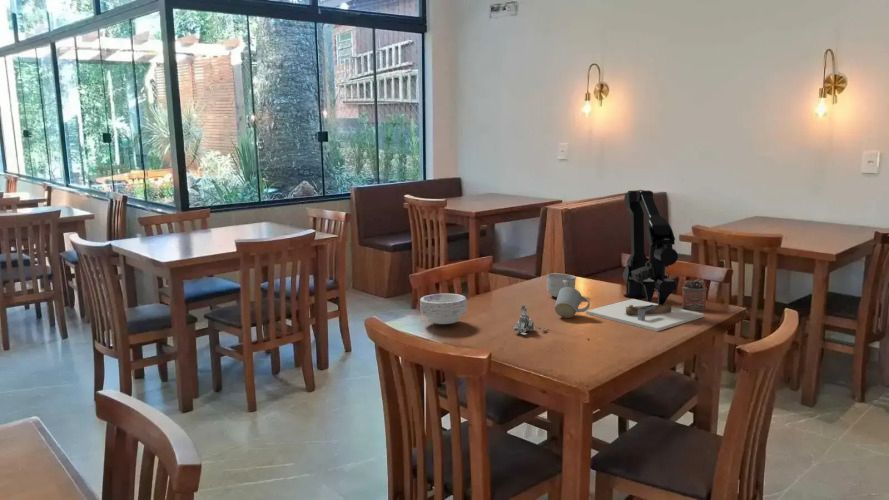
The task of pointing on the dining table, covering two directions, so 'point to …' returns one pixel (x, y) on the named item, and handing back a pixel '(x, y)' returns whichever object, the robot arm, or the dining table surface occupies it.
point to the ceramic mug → (569, 302)
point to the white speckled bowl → (443, 307)
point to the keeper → (642, 311)
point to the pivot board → (651, 319)
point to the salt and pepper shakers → (528, 431)
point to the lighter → (694, 296)
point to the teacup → (559, 283)
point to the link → (658, 309)
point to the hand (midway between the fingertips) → (654, 304)
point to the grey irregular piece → (524, 322)
